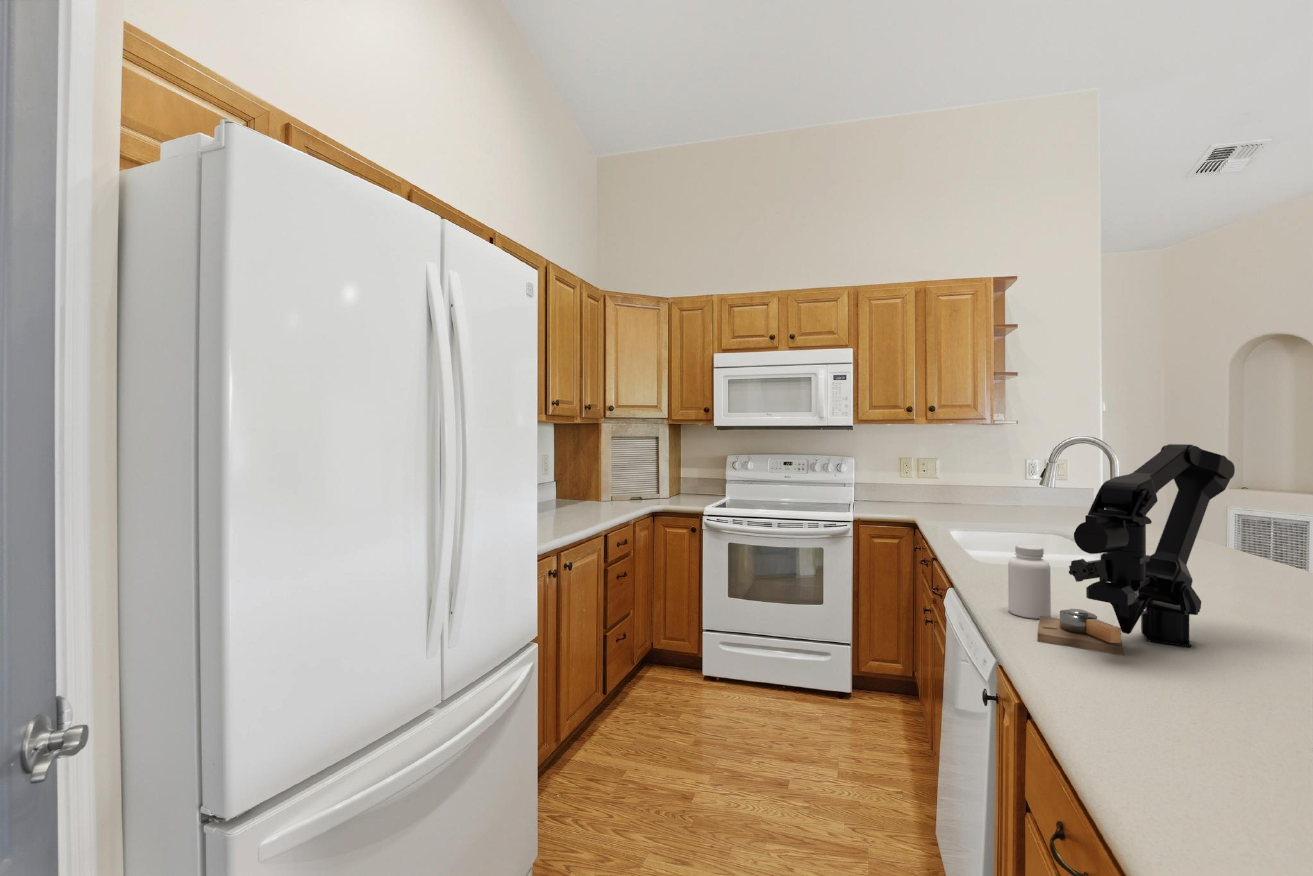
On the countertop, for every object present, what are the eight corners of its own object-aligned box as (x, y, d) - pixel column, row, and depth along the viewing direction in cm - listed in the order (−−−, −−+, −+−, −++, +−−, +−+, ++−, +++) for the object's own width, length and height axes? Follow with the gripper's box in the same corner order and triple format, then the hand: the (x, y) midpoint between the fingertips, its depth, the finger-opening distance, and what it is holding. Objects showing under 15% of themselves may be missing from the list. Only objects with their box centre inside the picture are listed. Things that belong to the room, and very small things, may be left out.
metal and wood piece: (1052, 624, 119) (1052, 607, 119) (1080, 622, 119) (1080, 606, 119) (1100, 644, 107) (1100, 626, 107) (1131, 643, 108) (1130, 624, 108)
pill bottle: (1050, 612, 132) (1050, 545, 132) (1051, 622, 125) (1050, 551, 125) (1008, 606, 136) (1008, 542, 136) (1007, 616, 130) (1007, 548, 129)
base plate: (1117, 634, 118) (1117, 625, 118) (1123, 654, 107) (1123, 644, 107) (1039, 622, 125) (1039, 614, 125) (1037, 641, 114) (1037, 631, 114)
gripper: (1096, 537, 121) (1096, 613, 121) (1054, 548, 111) (1054, 631, 111) (1165, 545, 112) (1165, 627, 112) (1126, 558, 102) (1126, 648, 102)
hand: (1126, 633), depth 109 cm, fingers closed
